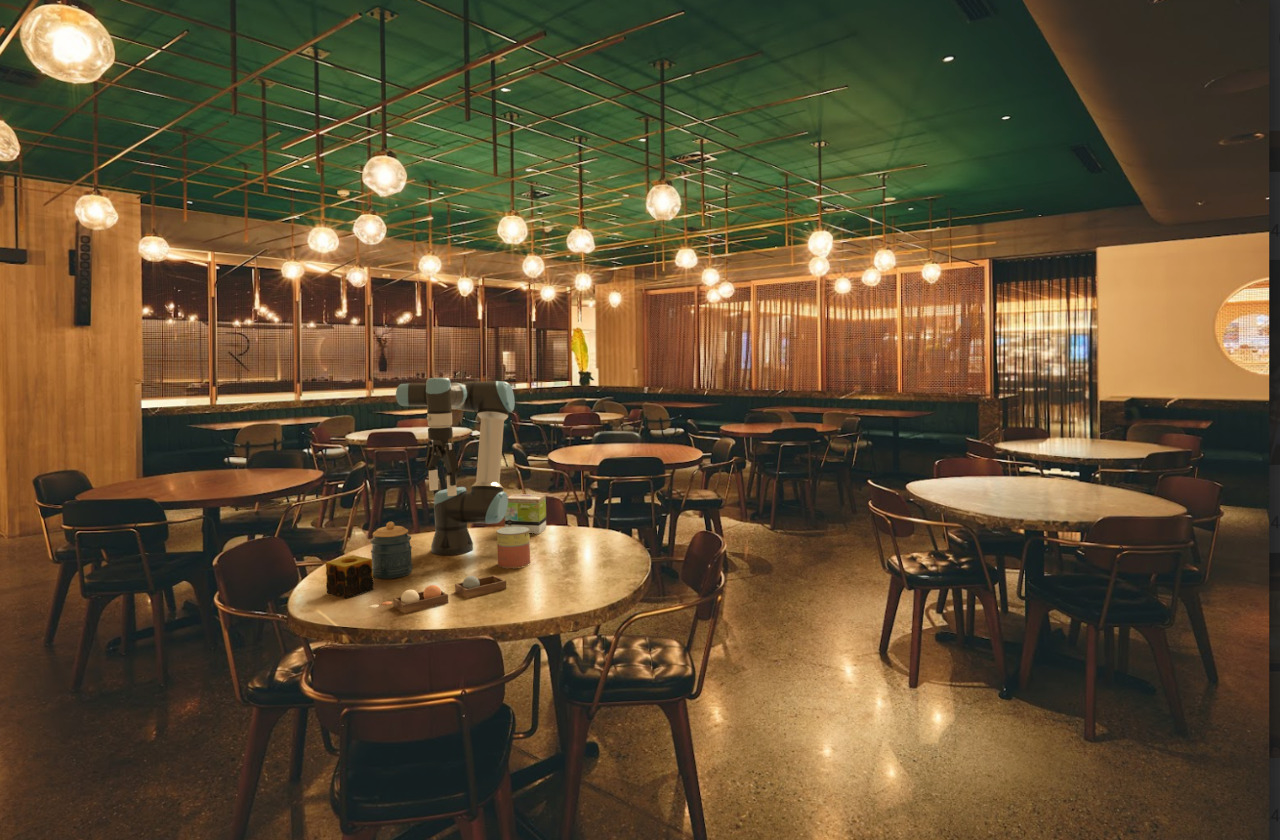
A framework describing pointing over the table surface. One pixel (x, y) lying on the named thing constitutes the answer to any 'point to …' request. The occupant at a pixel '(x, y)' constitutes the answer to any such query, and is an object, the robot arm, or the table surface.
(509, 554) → the canned food
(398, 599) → the trough
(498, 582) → the trough
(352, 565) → the brown block
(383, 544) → the canister
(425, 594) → the ball terracotta
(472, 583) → the ball slate
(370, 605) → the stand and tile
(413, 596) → the ball cream
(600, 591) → the table surface
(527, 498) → the tea box
